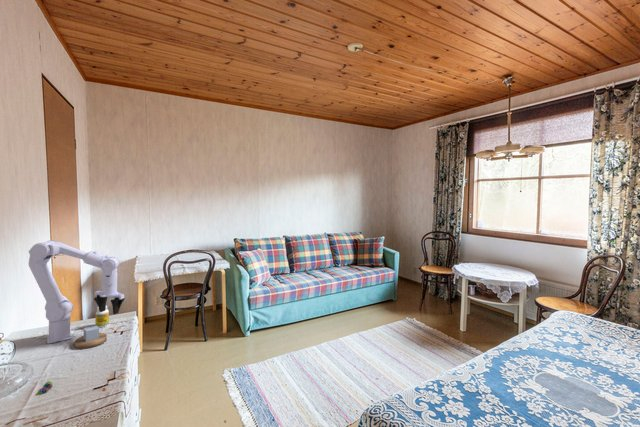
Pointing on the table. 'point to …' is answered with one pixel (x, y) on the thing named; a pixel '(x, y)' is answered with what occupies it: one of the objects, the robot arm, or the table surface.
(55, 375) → the table surface
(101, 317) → the supplement bottle
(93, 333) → the blue cube
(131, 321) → the table surface
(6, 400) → the table surface
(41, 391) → the green pink pointed oval
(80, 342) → the walnut bowl
